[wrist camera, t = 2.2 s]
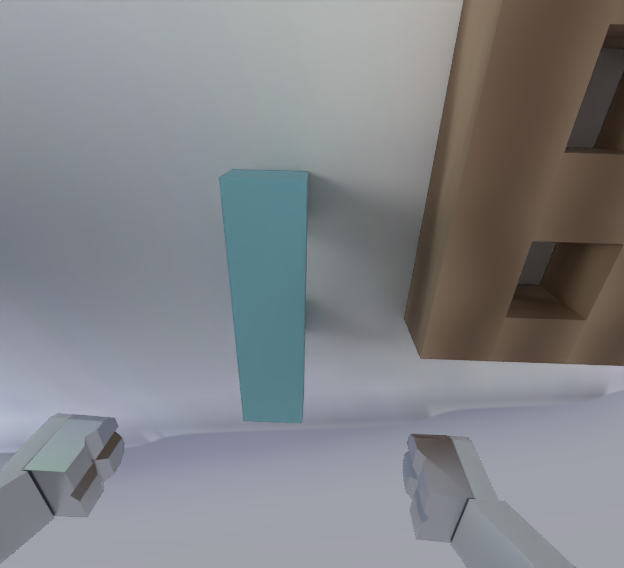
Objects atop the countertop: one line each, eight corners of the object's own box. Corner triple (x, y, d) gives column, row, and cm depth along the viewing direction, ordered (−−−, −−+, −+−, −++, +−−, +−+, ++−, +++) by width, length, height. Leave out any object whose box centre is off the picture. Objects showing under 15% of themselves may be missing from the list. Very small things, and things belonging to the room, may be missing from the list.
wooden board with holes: (404, 319, 22) (420, 358, 18) (471, -41, 14) (525, -98, 10) (583, 325, 22) (635, 366, 18) (760, -34, 13) (917, -88, 10)
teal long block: (264, 338, 23) (243, 420, 17) (255, 156, 17) (219, 177, 11) (307, 339, 23) (302, 423, 17) (311, 157, 17) (306, 179, 11)
